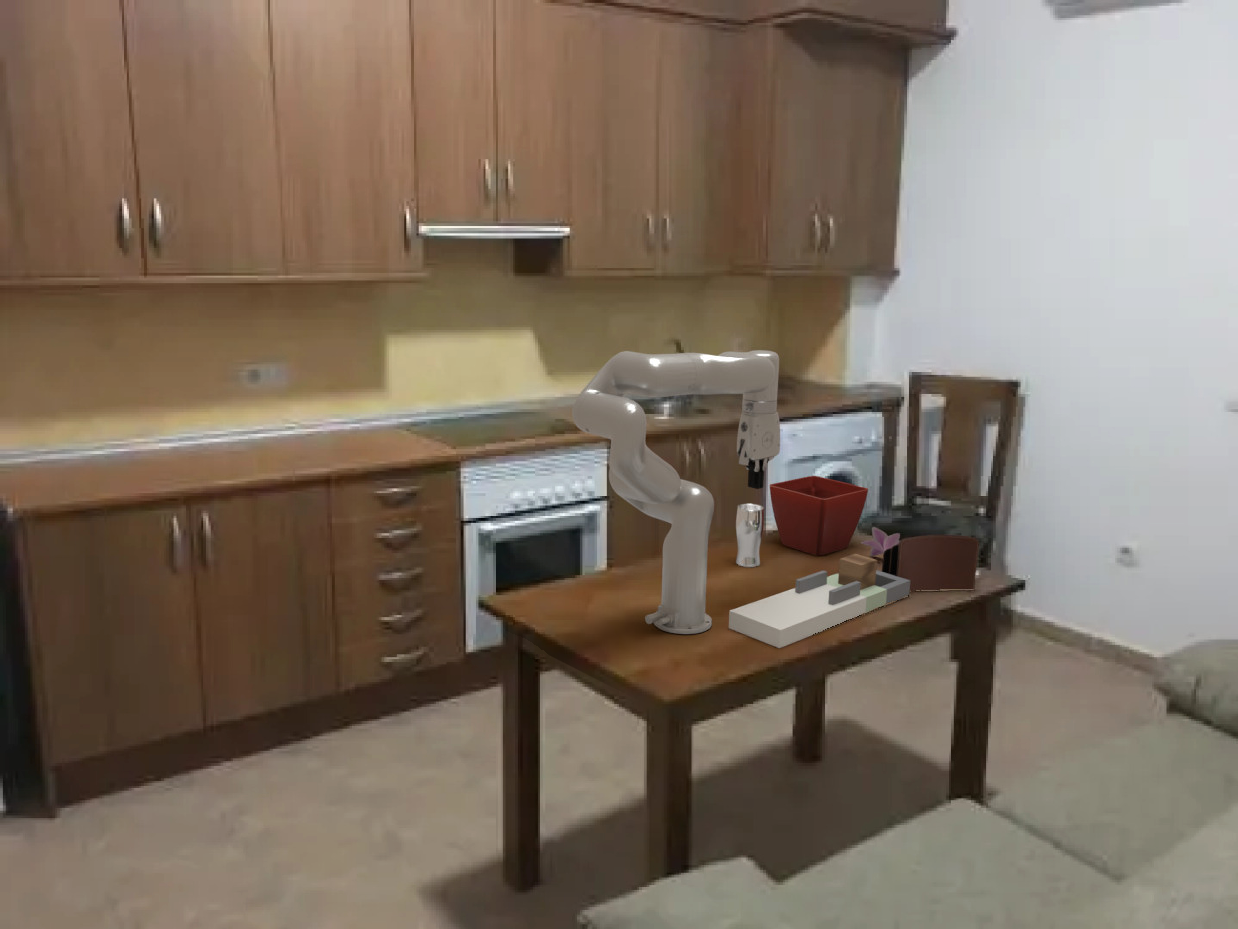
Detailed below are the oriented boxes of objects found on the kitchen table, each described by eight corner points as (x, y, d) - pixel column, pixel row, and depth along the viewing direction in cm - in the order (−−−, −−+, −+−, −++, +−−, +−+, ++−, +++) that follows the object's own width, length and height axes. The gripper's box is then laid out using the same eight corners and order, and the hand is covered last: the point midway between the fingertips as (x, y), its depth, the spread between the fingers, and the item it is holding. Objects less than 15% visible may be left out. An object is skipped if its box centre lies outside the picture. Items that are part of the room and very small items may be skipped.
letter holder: (975, 591, 252) (980, 535, 249) (895, 593, 250) (900, 536, 246) (957, 577, 262) (962, 523, 259) (880, 579, 259) (884, 524, 256)
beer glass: (741, 557, 273) (743, 501, 270) (765, 562, 270) (768, 506, 266) (729, 564, 267) (732, 508, 264) (754, 569, 264) (757, 512, 260)
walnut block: (859, 590, 239) (861, 565, 238) (838, 583, 243) (839, 558, 242) (875, 584, 243) (877, 560, 242) (853, 577, 247) (855, 553, 246)
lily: (917, 570, 269) (917, 534, 272) (894, 562, 261) (894, 524, 264) (876, 574, 277) (876, 538, 280) (852, 566, 269) (852, 529, 272)
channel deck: (779, 648, 216) (781, 616, 215) (728, 628, 226) (730, 597, 225) (909, 596, 247) (911, 568, 246) (859, 580, 257) (861, 553, 256)
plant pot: (810, 532, 297) (813, 474, 293) (865, 549, 282) (870, 488, 278) (764, 544, 285) (767, 484, 281) (819, 562, 270) (824, 499, 266)
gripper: (750, 413, 224) (745, 496, 229) (794, 405, 234) (789, 485, 238) (723, 408, 230) (720, 489, 234) (768, 401, 240) (764, 479, 244)
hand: (755, 487), depth 236 cm, fingers closed
